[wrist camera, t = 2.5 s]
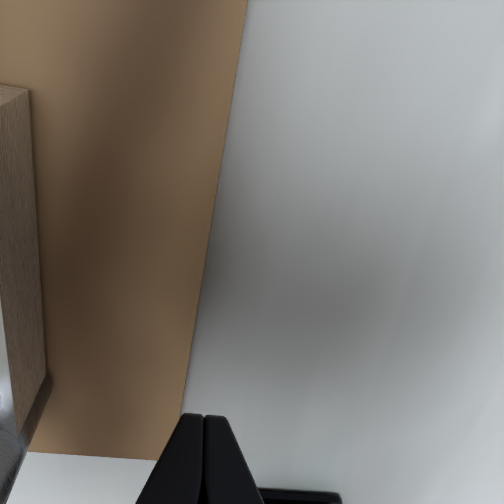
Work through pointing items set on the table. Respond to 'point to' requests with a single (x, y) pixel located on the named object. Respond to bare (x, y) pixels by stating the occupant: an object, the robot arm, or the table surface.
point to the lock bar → (18, 292)
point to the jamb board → (121, 202)
